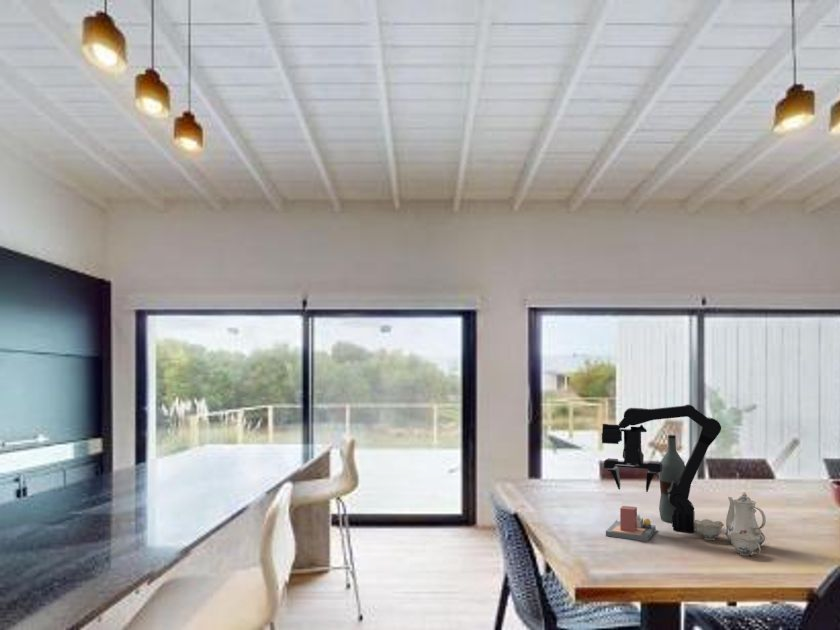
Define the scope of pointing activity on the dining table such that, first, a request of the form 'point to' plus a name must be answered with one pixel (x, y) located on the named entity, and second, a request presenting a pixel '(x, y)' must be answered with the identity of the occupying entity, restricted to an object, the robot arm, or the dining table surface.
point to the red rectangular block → (628, 518)
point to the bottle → (669, 478)
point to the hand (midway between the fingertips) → (633, 490)
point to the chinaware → (737, 526)
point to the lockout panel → (641, 533)
